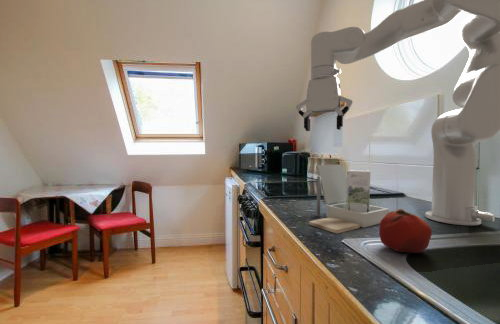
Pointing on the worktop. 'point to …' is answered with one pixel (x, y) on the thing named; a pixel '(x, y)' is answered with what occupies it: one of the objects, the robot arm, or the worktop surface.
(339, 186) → the lid
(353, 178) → the syrup box
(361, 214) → the case
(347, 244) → the worktop surface
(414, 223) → the tomato
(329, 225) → the plate
